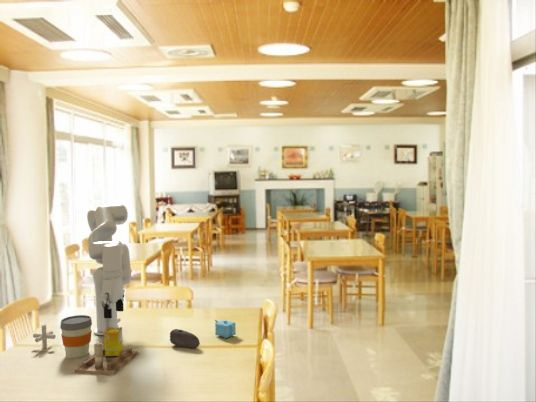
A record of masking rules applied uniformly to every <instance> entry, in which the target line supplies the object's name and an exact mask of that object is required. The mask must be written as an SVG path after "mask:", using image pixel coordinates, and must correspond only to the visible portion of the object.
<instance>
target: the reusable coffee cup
mask: <svg viewBox="0 0 536 402" xmlns="http://www.w3.org/2000/svg"><path fill="white" fill-rule="evenodd" d="M92 325H93V321H92V316H90V315H86V314H84V315H83V314H82V315H81V314H80V315H72V316H71V315H70V316H67V317H64V318H62V319H61V321H60V326H59V327H60V330H61V339H62V340H61V341H62V345H63V346H64V351H65V356H66V357H67V358H70V359H77V358H82V357H85V356H88V354H89V351H90V343H91V341H92Z"/></svg>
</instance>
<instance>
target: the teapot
mask: <svg viewBox="0 0 536 402" xmlns="http://www.w3.org/2000/svg"><path fill="white" fill-rule="evenodd" d="M214 322H215V323H214V325H215V326H214V327H215V329H214V330H215V333H214V334H215V336H218V337H219V336H222V337H221V338H224V337H225V338H227V339H228V338H230V336H232V337H233V336H235V335H236V329H237V328H236V322H233V321H230V320H226V319H223V320H220V321H218V320H217V319H214Z"/></svg>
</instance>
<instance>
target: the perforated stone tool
mask: <svg viewBox="0 0 536 402" xmlns="http://www.w3.org/2000/svg"><path fill="white" fill-rule="evenodd" d="M169 341H170V344H172V345H175V346H176V347H180V348H188V349H196V348H198V347H200V345H201V344H200V343H201V341H200V339H199V338H198V337H197V335H195V334H193V333H191V332H190V331H187V330H183V329H178V328H175V329H172V330H171V331H170V333H169Z"/></svg>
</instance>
